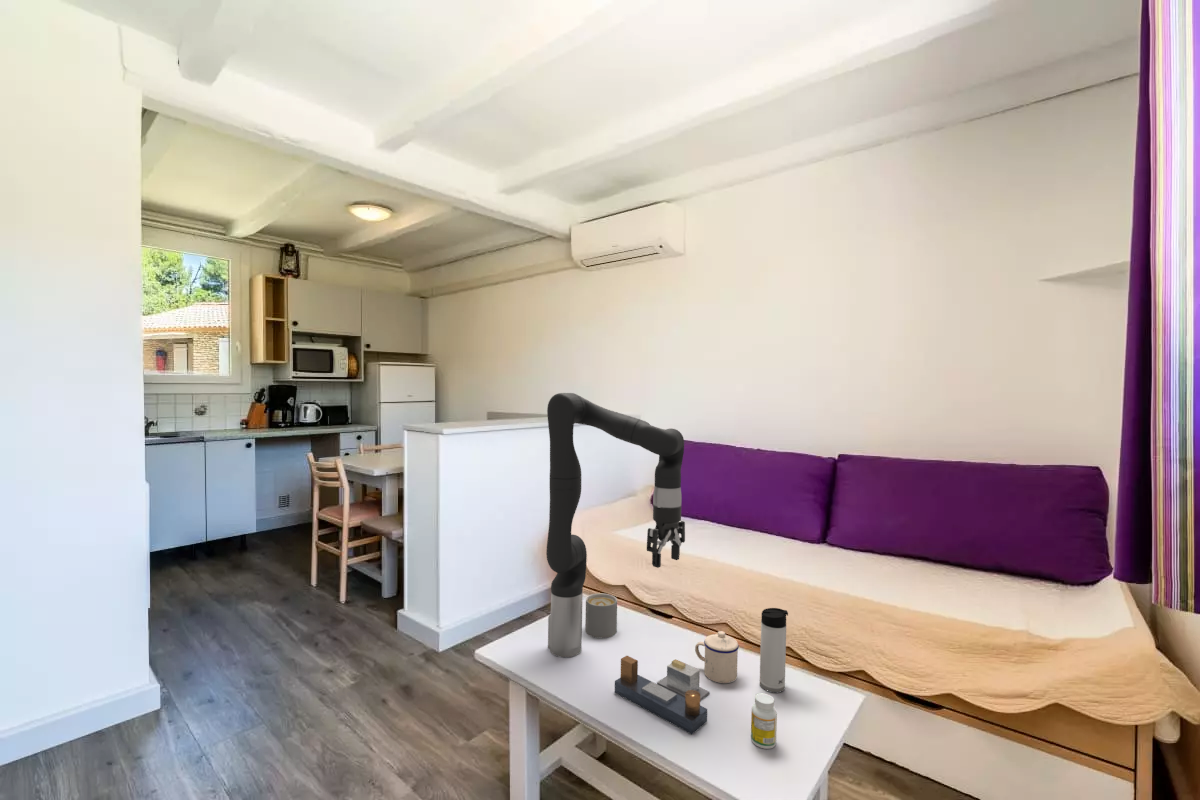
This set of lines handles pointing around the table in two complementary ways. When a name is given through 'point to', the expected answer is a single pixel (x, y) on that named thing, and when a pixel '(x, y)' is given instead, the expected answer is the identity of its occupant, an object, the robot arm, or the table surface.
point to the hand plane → (660, 698)
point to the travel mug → (773, 649)
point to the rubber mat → (664, 684)
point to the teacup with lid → (719, 657)
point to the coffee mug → (601, 615)
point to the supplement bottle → (763, 721)
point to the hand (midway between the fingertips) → (666, 563)
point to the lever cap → (682, 676)
